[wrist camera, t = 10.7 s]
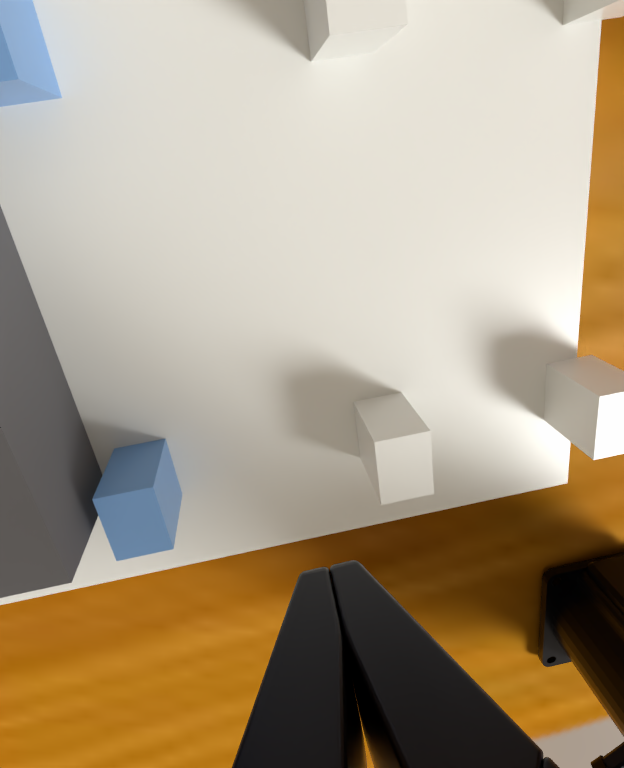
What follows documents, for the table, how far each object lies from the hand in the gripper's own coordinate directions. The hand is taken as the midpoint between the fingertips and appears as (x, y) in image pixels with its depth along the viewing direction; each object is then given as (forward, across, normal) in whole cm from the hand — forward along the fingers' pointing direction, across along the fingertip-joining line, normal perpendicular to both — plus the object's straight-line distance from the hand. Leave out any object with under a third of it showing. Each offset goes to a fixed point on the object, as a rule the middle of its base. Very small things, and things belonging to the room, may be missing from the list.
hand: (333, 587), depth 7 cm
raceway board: (+12, +1, -3) cm, 12 cm away
